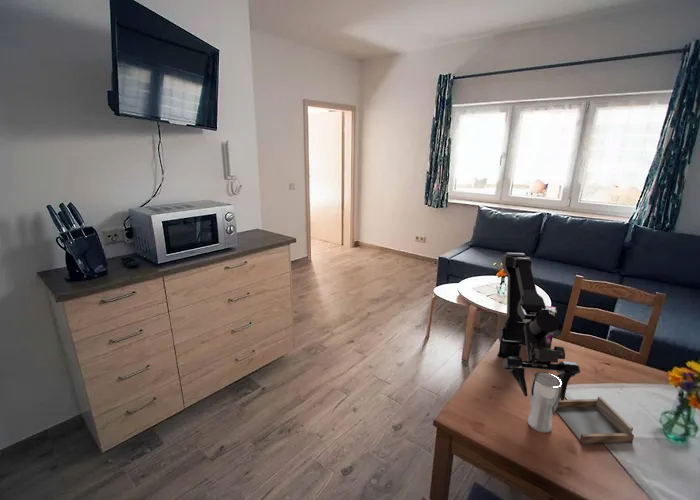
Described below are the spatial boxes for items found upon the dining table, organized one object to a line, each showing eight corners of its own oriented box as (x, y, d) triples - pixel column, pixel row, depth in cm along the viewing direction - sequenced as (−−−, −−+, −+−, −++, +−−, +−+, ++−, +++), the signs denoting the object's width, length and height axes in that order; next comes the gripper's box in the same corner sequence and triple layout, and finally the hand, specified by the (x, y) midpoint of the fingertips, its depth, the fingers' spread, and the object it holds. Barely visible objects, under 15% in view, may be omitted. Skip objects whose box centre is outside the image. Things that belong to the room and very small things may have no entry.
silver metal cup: (546, 415, 98) (555, 372, 94) (558, 435, 92) (568, 389, 87) (521, 414, 99) (528, 370, 95) (531, 433, 92) (539, 387, 88)
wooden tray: (581, 443, 89) (584, 431, 88) (552, 406, 102) (554, 395, 100) (632, 442, 89) (635, 430, 88) (596, 405, 102) (598, 394, 101)
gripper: (510, 331, 95) (516, 390, 87) (583, 337, 91) (596, 399, 84) (500, 341, 104) (505, 395, 97) (566, 347, 101) (576, 403, 94)
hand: (544, 398), depth 93 cm, fingers open, 9 cm apart
